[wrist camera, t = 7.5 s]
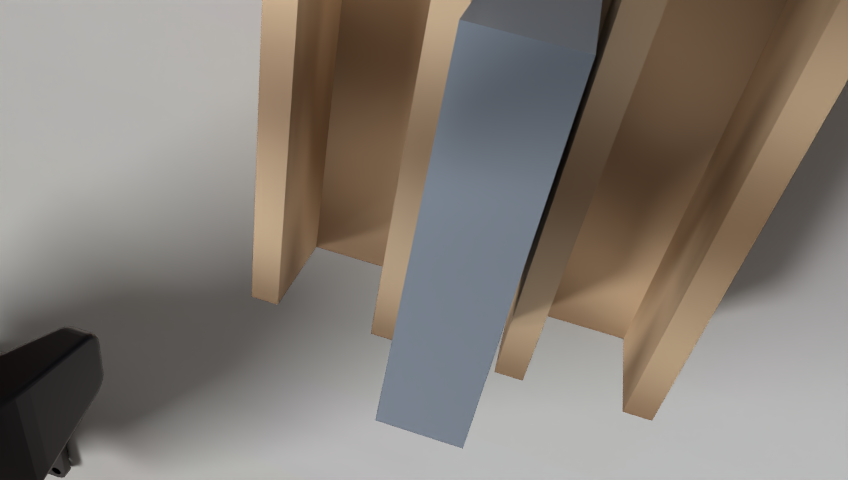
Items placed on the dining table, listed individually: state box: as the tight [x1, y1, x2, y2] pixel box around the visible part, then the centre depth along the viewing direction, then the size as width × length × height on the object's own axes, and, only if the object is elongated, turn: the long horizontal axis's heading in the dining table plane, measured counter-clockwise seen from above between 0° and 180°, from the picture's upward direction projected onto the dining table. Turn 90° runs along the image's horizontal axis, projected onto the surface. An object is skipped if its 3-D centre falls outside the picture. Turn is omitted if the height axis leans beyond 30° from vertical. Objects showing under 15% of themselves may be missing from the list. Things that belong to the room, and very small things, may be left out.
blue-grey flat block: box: [376, 0, 602, 448], centre depth 15 cm, size 9×2×7 cm, turn 170°
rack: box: [252, 0, 848, 420], centre depth 17 cm, size 12×12×4 cm
